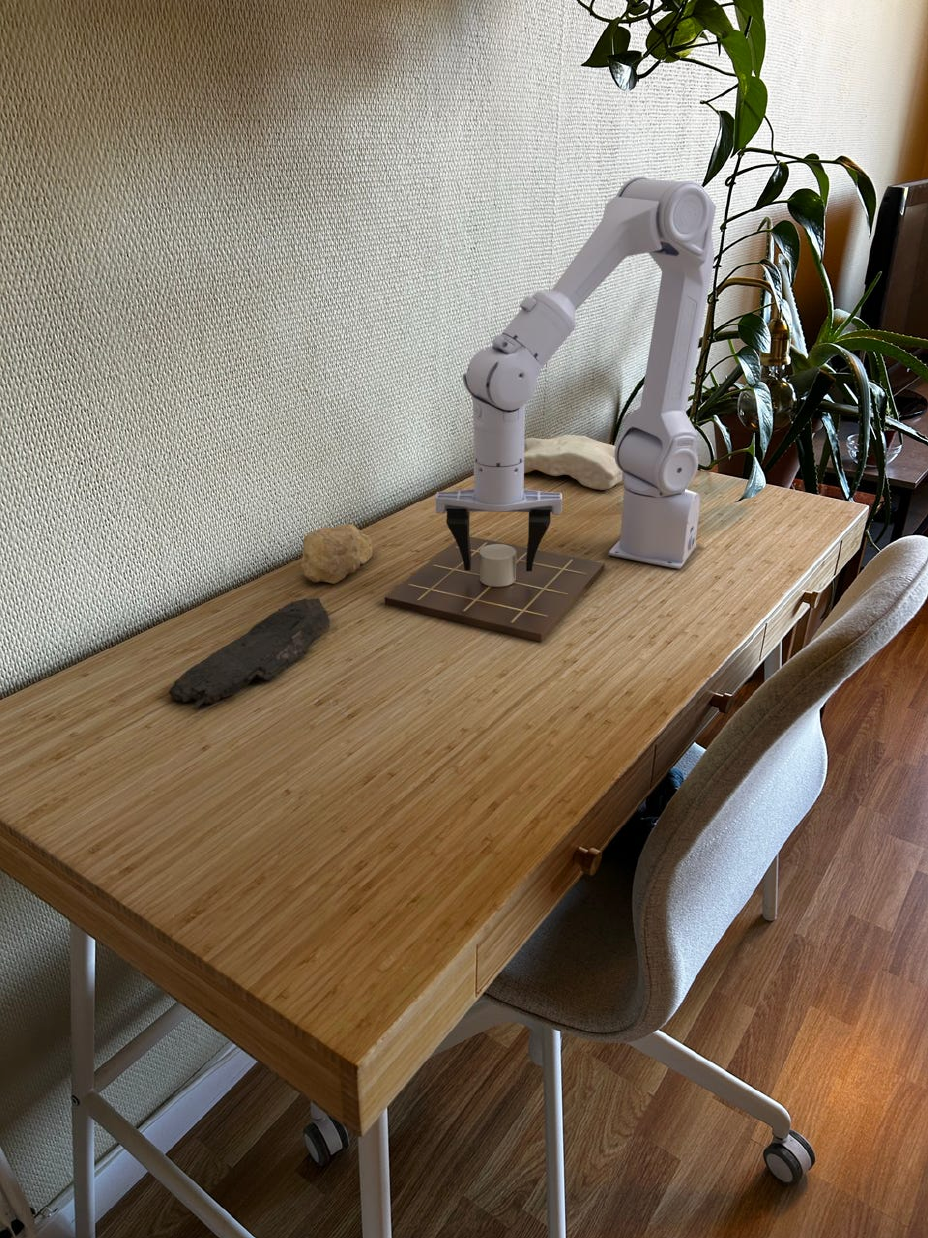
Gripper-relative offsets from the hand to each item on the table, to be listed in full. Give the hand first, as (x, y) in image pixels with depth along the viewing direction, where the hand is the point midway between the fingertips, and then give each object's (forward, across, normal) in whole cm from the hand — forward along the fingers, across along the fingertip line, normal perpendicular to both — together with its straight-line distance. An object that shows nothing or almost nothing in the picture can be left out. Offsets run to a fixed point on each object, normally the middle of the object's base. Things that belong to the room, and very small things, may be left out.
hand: (498, 567), depth 110 cm
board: (+3, 0, 0) cm, 3 cm away
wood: (+3, +24, +18) cm, 30 cm away
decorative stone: (+3, -10, -42) cm, 44 cm away
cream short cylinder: (+2, 0, 0) cm, 2 cm away
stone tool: (+3, +20, -5) cm, 21 cm away
